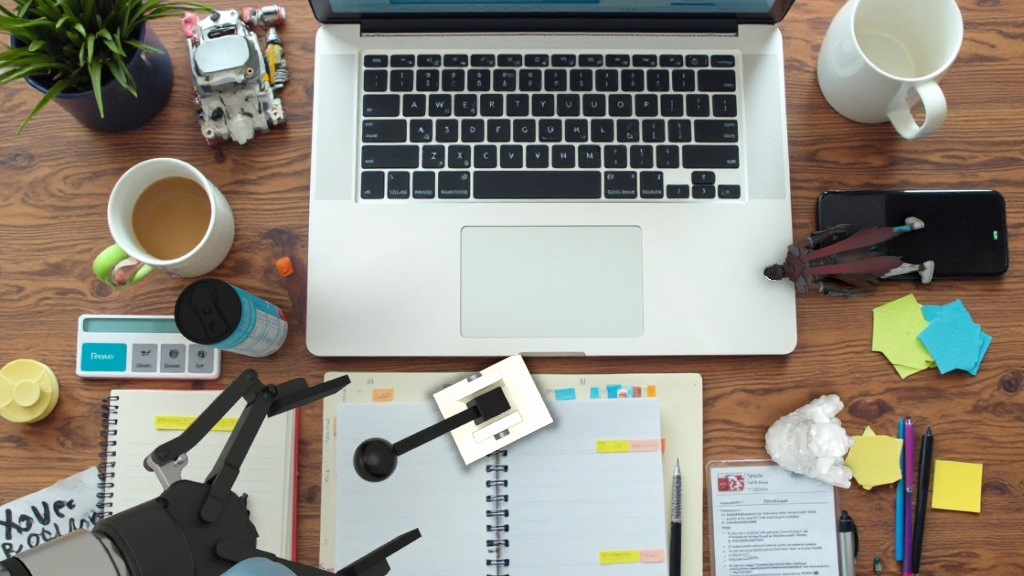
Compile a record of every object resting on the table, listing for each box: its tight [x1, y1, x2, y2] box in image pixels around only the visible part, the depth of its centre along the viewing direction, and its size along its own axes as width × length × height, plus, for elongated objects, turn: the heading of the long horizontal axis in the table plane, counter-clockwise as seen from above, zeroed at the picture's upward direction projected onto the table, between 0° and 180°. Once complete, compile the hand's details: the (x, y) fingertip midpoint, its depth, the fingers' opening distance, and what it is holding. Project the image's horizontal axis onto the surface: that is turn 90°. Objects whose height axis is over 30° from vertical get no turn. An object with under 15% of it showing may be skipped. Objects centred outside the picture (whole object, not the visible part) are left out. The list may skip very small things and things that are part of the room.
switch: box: [352, 386, 511, 484], centre depth 65 cm, size 14×4×4 cm, turn 115°
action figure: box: [762, 216, 935, 301], centre depth 80 cm, size 8×6×18 cm
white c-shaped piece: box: [432, 354, 554, 466], centre depth 73 cm, size 10×8×15 cm
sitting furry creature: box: [764, 393, 855, 490], centre depth 74 cm, size 10×9×12 cm
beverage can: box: [173, 277, 289, 358], centre depth 75 cm, size 6×6×15 cm
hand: (376, 458), depth 63 cm, fingers open, 13 cm apart
